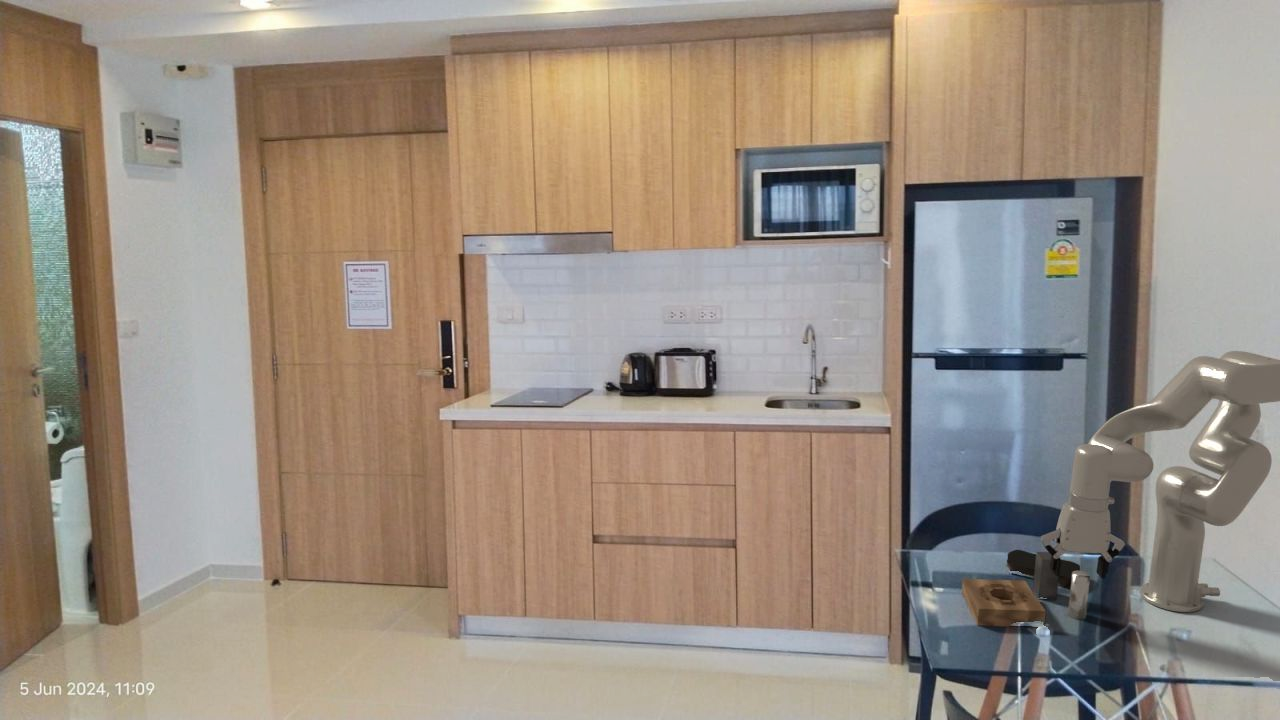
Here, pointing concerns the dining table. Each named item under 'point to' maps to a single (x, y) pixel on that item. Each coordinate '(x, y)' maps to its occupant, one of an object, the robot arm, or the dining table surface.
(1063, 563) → the black sponge
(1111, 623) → the dining table surface
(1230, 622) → the dining table surface
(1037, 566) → the square bit
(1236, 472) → the robot arm
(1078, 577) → the round bit
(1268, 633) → the dining table surface
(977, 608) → the socket block
